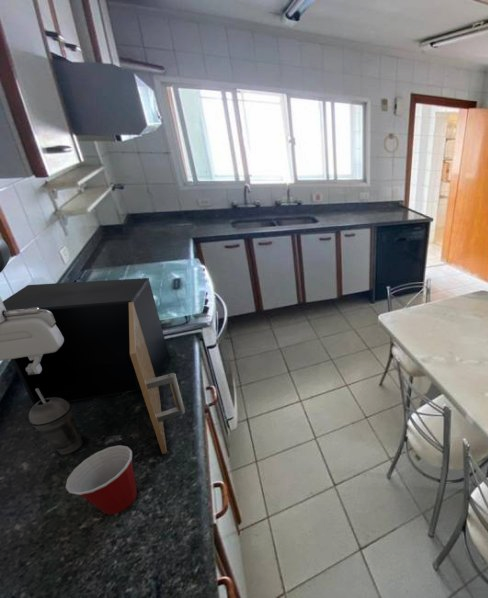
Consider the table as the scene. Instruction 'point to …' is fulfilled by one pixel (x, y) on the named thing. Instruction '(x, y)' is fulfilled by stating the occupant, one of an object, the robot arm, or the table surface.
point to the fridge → (91, 337)
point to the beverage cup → (56, 423)
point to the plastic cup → (106, 479)
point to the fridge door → (151, 380)
